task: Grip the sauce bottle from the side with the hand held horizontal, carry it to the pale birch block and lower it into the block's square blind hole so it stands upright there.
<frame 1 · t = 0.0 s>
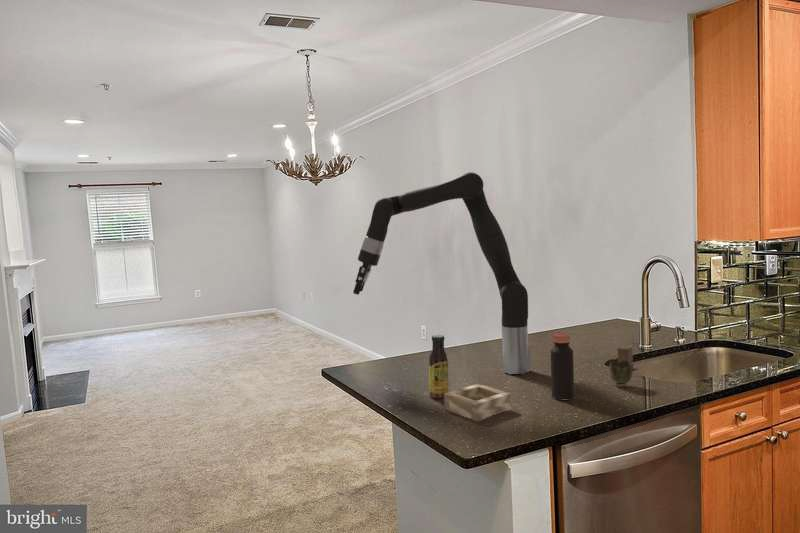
hand: (357, 292, 216), 31 cm above the worktop, tool tilted 20°, fingers open, 8 cm apart
wooden block: (625, 369, 211), on the worktop
socket block: (477, 409, 176), on the worktop
cup: (621, 387, 192), on the worktop
sauce bottle: (439, 396, 191), on the worktop
vinegar: (562, 398, 184), on the worktop
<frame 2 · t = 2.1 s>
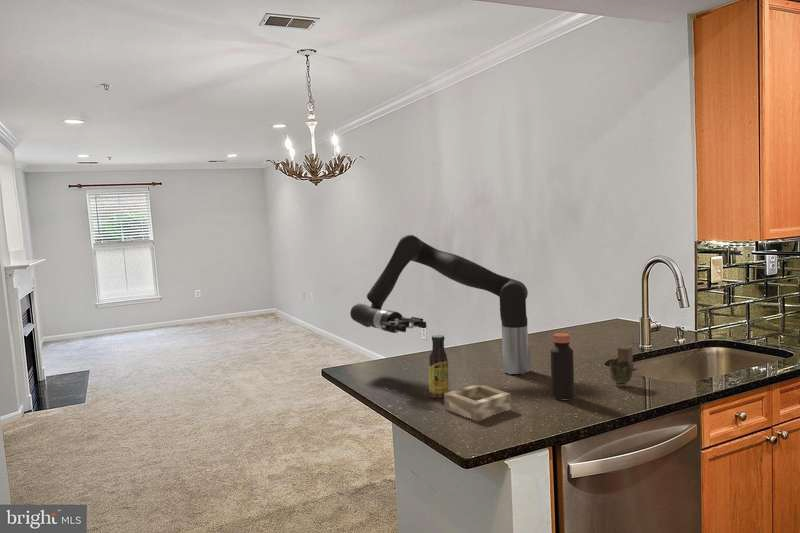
hand: (415, 327, 198), 21 cm above the worktop, tool horizontal, fingers open, 8 cm apart
nothing on the worktop moved.
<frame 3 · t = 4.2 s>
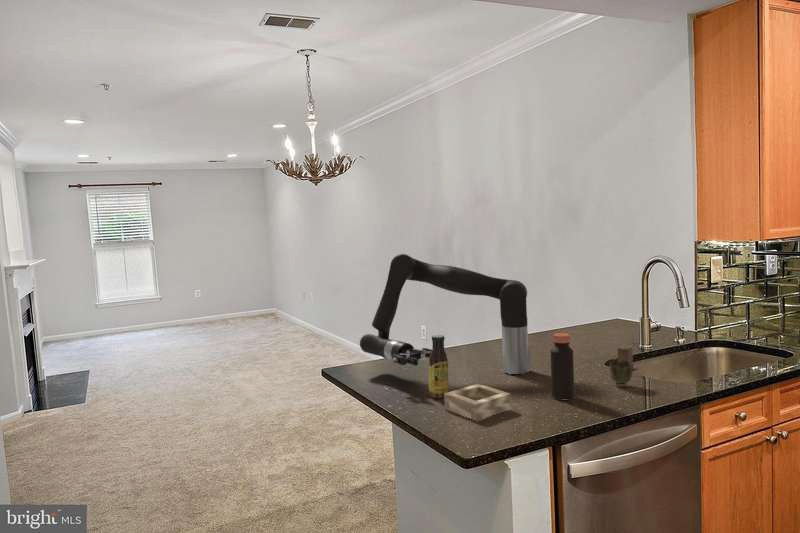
hand: (427, 360, 194), 11 cm above the worktop, tool horizontal, fingers open, 8 cm apart
nothing on the worktop moved.
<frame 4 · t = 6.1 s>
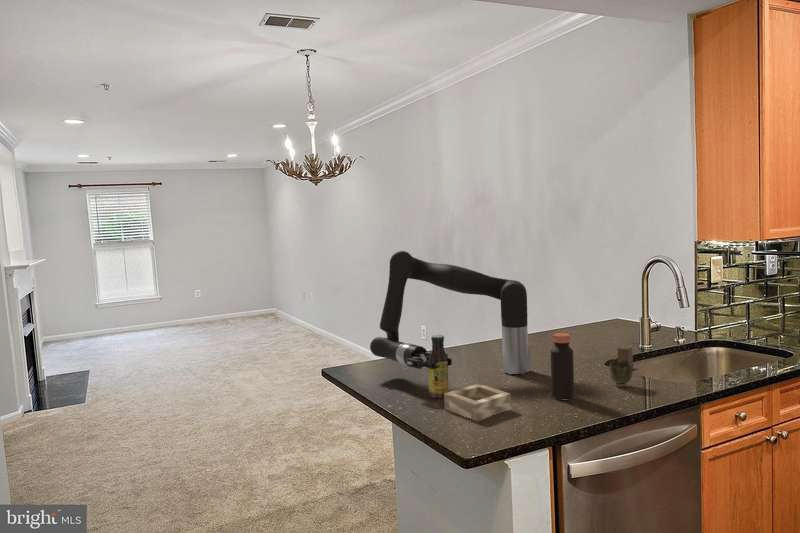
hand: (442, 364, 188), 11 cm above the worktop, tool horizontal, fingers closed on sauce bottle, 6 cm apart
sauce bottle: (439, 396, 191), on the worktop, touching gripper
everything else where it was.
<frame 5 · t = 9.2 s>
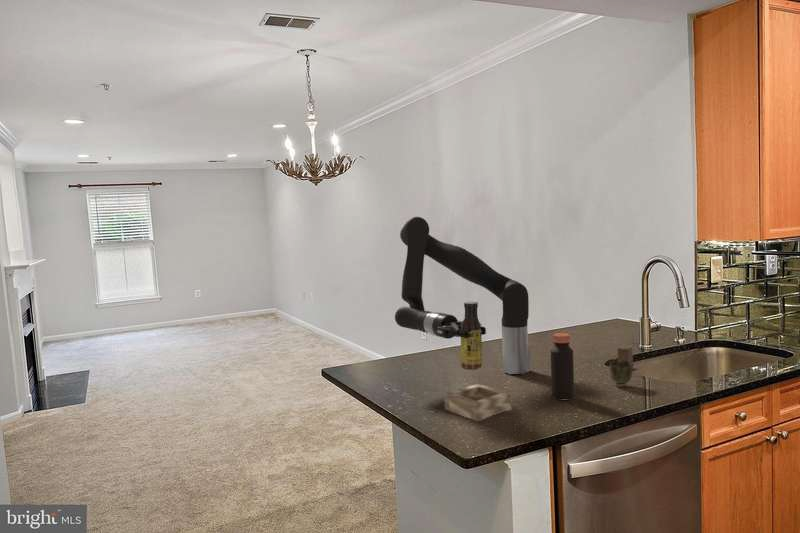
hand: (476, 332, 173), 24 cm above the worktop, tool horizontal, fingers closed on sauce bottle, 6 cm apart
sauce bottle: (471, 368, 176), point 12 cm above the worktop, touching gripper
everything else where it was.
when the fingers open (13 cm above the worktop, at t = 12.5 s): sauce bottle drops 1 cm, resting on socket block.
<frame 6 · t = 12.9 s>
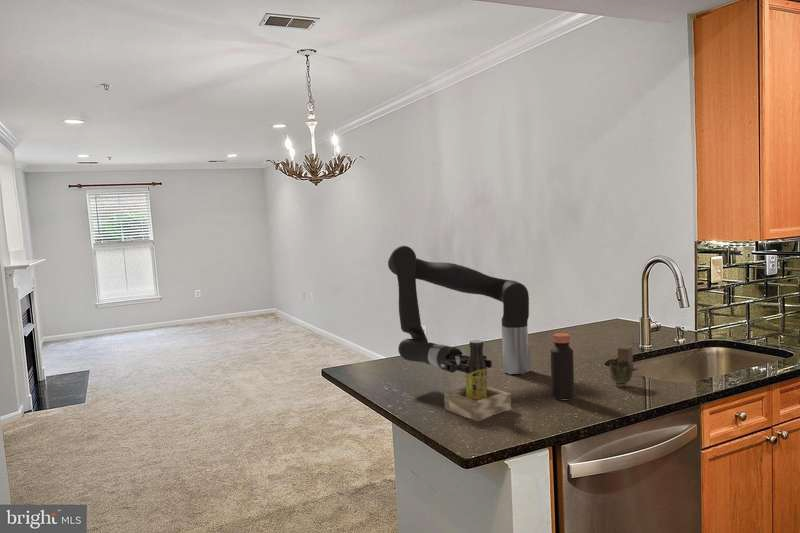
hand: (480, 367, 173), 14 cm above the worktop, tool horizontal, fingers open, 8 cm apart
sauce bottle: (477, 406, 176), point 1 cm above the worktop, touching socket block
everything else where it was.
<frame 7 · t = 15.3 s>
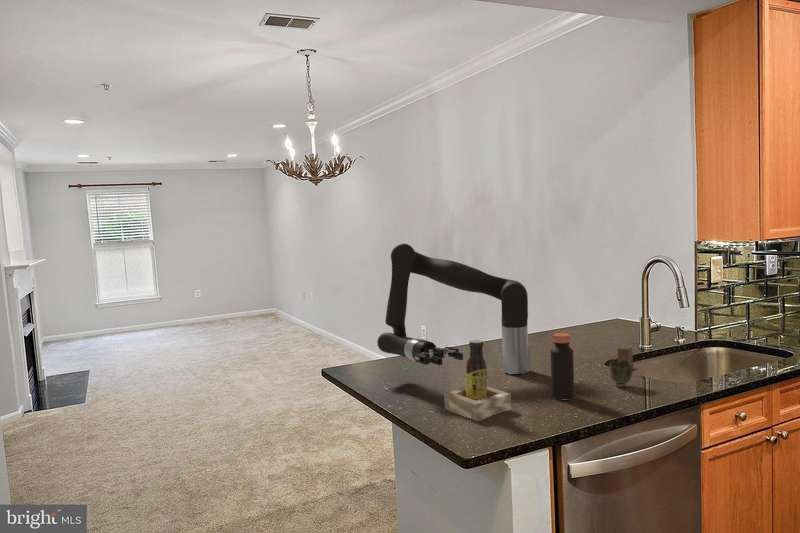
hand: (452, 359, 184), 13 cm above the worktop, tool horizontal, fingers open, 8 cm apart
nothing on the worktop moved.
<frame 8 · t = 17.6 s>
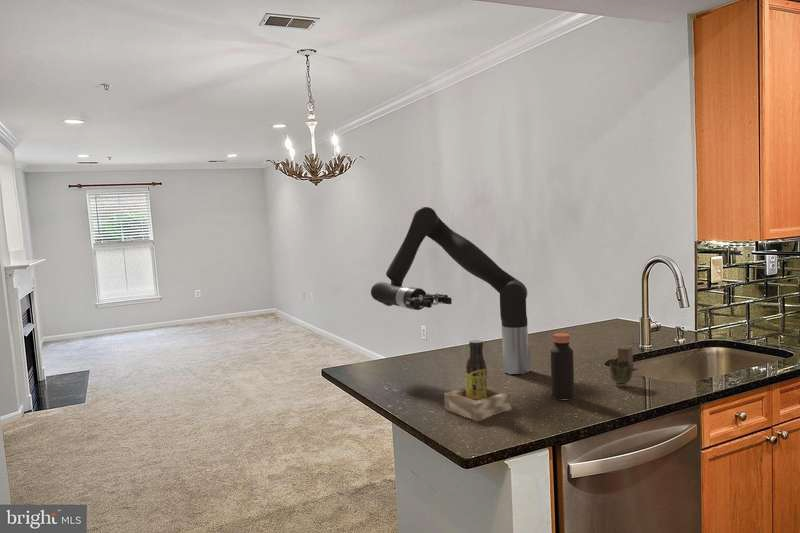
hand: (440, 302, 192), 30 cm above the worktop, tool horizontal, fingers open, 8 cm apart
nothing on the worktop moved.
at the end: sauce bottle 0.2 cm off-centre on the socket block, point 0.8 cm above the socket block's base; sauce bottle tilted 0°; the gripper is holding nothing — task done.
